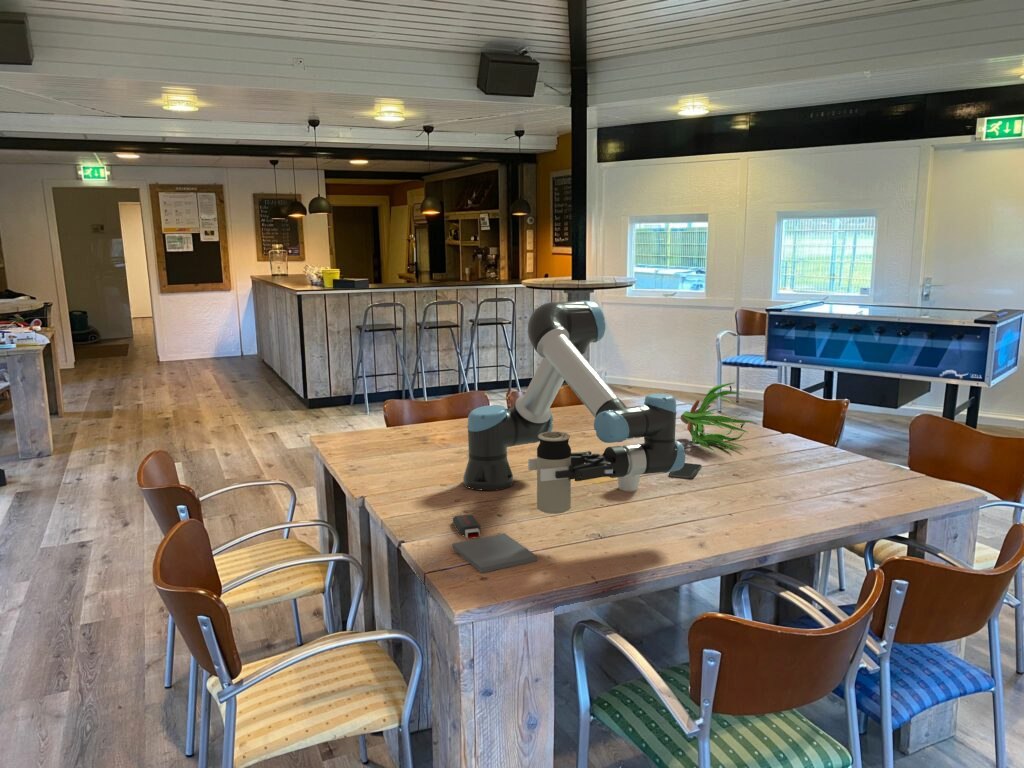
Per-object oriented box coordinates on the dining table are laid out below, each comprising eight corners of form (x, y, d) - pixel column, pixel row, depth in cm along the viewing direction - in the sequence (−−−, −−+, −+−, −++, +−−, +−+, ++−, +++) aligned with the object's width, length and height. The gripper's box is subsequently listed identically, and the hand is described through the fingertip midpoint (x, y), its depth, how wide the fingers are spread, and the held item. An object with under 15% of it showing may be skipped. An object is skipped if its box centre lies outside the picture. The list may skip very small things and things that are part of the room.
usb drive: (472, 522, 199) (472, 512, 198) (483, 538, 188) (483, 527, 187) (452, 524, 197) (452, 514, 197) (463, 540, 186) (462, 530, 186)
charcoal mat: (452, 548, 180) (452, 543, 180) (504, 537, 187) (504, 533, 186) (481, 573, 166) (481, 567, 166) (536, 560, 173) (536, 555, 172)
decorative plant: (696, 447, 291) (763, 460, 267) (652, 444, 276) (719, 458, 252) (705, 380, 290) (773, 388, 266) (661, 373, 275) (729, 381, 251)
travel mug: (532, 512, 177) (532, 437, 174) (542, 501, 185) (543, 429, 181) (565, 516, 175) (565, 440, 171) (574, 505, 182) (575, 432, 179)
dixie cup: (621, 493, 219) (621, 460, 217) (609, 485, 227) (610, 453, 225) (647, 491, 221) (648, 458, 220) (635, 483, 229) (635, 451, 228)
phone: (667, 474, 235) (678, 462, 249) (667, 477, 235) (678, 465, 249) (693, 477, 232) (702, 464, 245) (693, 480, 232) (702, 467, 246)
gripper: (642, 488, 174) (550, 499, 167) (605, 464, 194) (520, 472, 187) (643, 457, 173) (550, 466, 166) (605, 435, 192) (520, 443, 186)
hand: (534, 469), depth 176 cm, fingers closed on travel mug, 8 cm apart
